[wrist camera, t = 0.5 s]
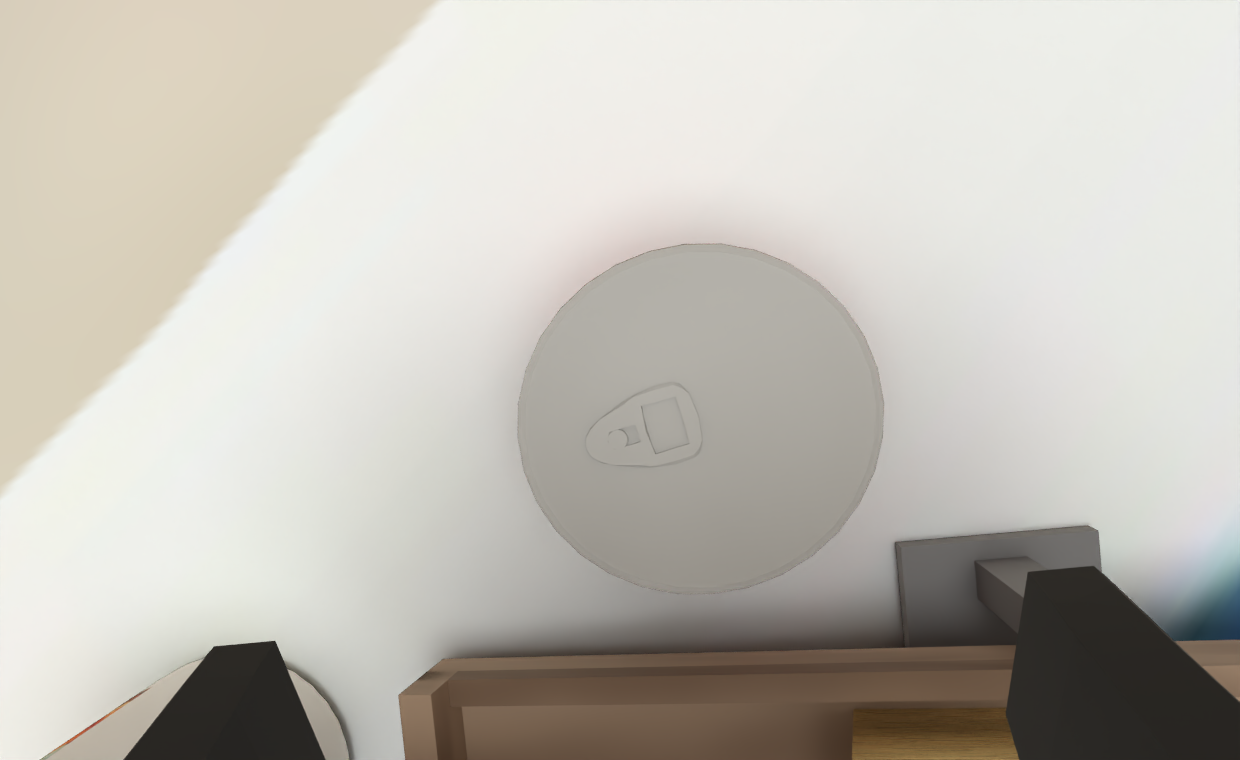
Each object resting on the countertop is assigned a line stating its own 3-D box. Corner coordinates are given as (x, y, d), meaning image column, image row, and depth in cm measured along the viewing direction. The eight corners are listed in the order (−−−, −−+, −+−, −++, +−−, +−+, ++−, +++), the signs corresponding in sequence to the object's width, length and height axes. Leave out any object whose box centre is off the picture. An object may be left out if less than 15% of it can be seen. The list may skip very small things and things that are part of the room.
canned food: (522, 356, 33) (446, 367, 22) (734, 223, 33) (764, 166, 22) (648, 558, 33) (635, 668, 22) (862, 427, 33) (956, 475, 22)
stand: (1115, 866, 33) (1210, 980, 27) (925, 879, 33) (978, 995, 27) (1087, 525, 32) (1177, 567, 27) (895, 542, 33) (942, 587, 27)
